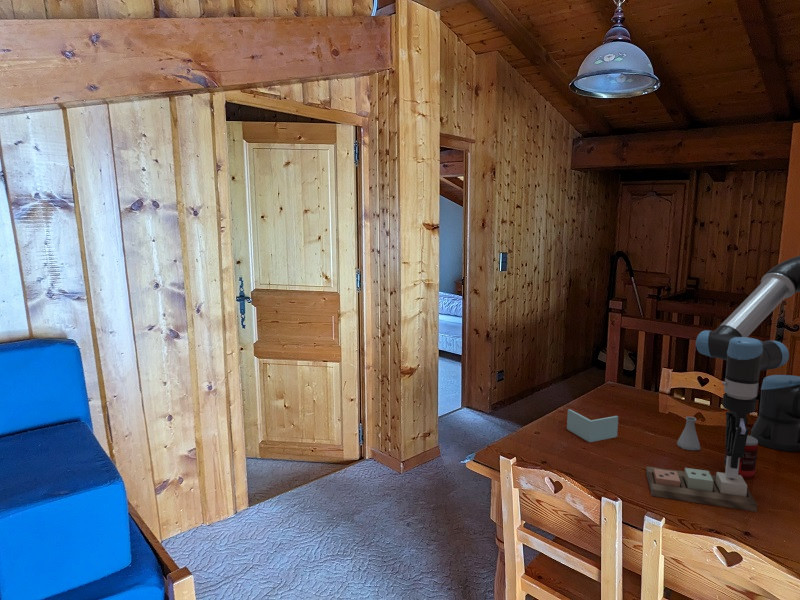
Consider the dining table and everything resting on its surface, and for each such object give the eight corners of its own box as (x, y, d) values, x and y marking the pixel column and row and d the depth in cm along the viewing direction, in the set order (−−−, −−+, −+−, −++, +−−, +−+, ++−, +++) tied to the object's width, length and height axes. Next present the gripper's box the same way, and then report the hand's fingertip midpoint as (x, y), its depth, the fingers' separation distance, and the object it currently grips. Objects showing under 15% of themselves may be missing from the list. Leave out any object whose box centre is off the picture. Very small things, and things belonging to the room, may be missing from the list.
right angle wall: (617, 436, 183) (618, 416, 182) (589, 442, 179) (590, 421, 177) (593, 424, 194) (594, 405, 193) (566, 429, 190) (567, 409, 189)
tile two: (707, 481, 148) (708, 470, 148) (712, 491, 143) (713, 480, 142) (683, 478, 150) (684, 467, 150) (687, 488, 145) (688, 477, 144)
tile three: (675, 481, 151) (676, 471, 151) (679, 491, 146) (680, 481, 145) (653, 478, 153) (653, 468, 153) (655, 488, 148) (656, 477, 147)
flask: (704, 452, 171) (706, 423, 169) (680, 450, 172) (682, 421, 170) (696, 442, 178) (699, 415, 176) (673, 441, 179) (675, 413, 177)
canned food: (725, 463, 163) (728, 430, 161) (756, 471, 158) (759, 437, 156) (721, 472, 157) (724, 438, 155) (753, 481, 152) (756, 445, 150)
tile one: (739, 485, 146) (741, 474, 145) (746, 496, 140) (747, 485, 140) (715, 482, 148) (716, 471, 147) (720, 493, 142) (721, 481, 142)
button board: (741, 485, 149) (742, 479, 149) (756, 511, 136) (757, 504, 136) (645, 472, 157) (646, 466, 157) (651, 495, 144) (652, 489, 144)
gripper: (718, 386, 147) (710, 464, 151) (730, 401, 135) (721, 486, 138) (748, 389, 144) (740, 468, 148) (764, 404, 132) (754, 491, 136)
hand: (731, 477), depth 143 cm, fingers closed
